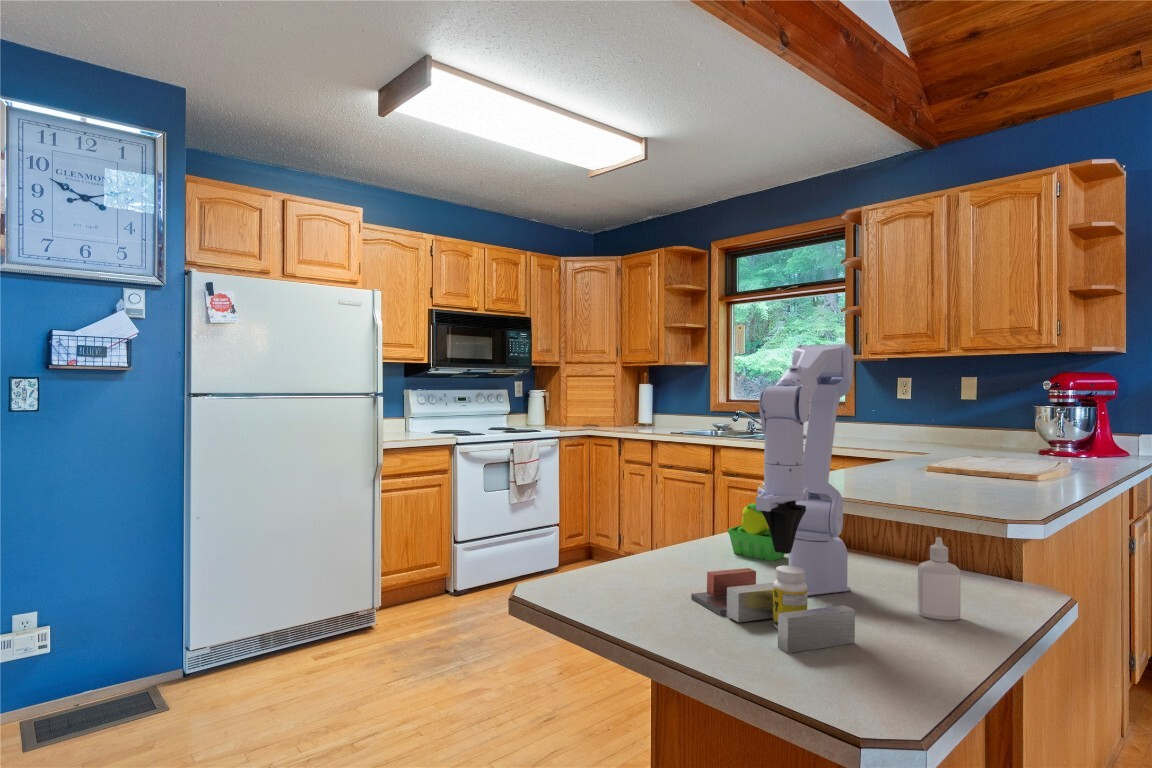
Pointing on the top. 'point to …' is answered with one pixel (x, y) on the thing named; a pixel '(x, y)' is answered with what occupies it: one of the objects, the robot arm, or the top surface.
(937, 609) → the eye dropper bottle
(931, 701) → the top surface
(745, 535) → the fruit basket
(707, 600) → the base
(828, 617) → the bar
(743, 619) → the sliding jaw
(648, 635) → the top surface
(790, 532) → the robot arm
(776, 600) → the supplement bottle
